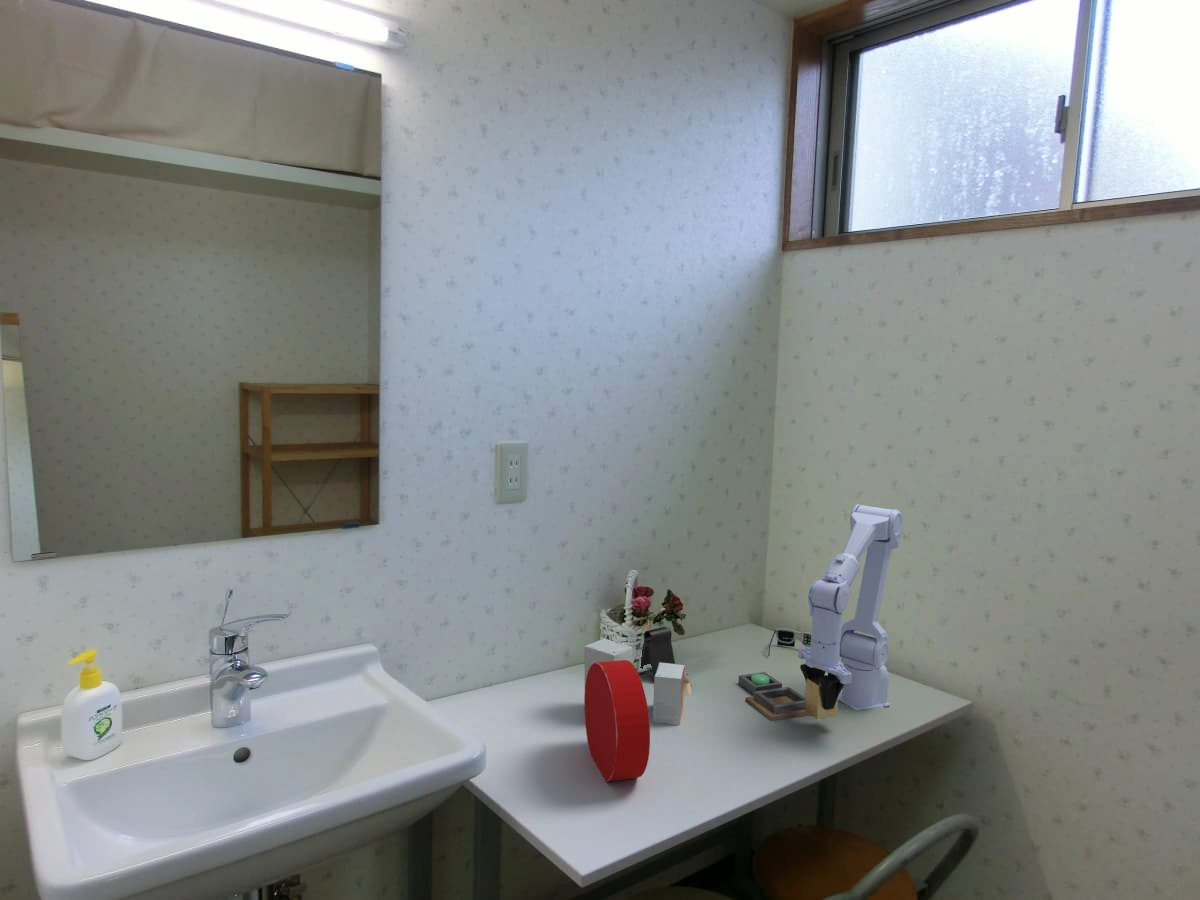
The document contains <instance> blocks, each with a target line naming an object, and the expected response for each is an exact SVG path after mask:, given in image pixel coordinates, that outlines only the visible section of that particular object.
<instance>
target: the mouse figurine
mask: <svg viewBox="0 0 1200 900" xmlns="http://www.w3.org/2000/svg"><path fill="white" fill-rule="evenodd" d="M684 665H685V664H684ZM687 669H688V667H687V665H685V672H684V693H683V697H689V696H691V694H693V691H692V689H694V688H693V685H692V683H691V678H690V677H689V674H688V673H687V672H686V671H687ZM688 695H689V696H688Z"/></svg>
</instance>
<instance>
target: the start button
mask: <svg viewBox="0 0 1200 900" xmlns="http://www.w3.org/2000/svg"><path fill="white" fill-rule="evenodd" d="M752 674H753V675H752V676H751V681H752V682H753V683H754V684H756V685H762V684H769V677H768V676H767V675H764V674H754V673H752Z"/></svg>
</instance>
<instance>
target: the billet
mask: <svg viewBox="0 0 1200 900" xmlns="http://www.w3.org/2000/svg"><path fill="white" fill-rule="evenodd" d="M805 683H806V684H805V711H806V712H807V713H809V714H810V715H809V716H812V717H813V718H814V719H816V720H820V719H826V718H831V717H832V718H833V717H838V709H839V699H838V698H837V701H836V703H835V706H834V709H830V710H825V709H824V707H823V691H822V686H821V682H820V679H819V676H818V677H811V678H807V681H806V680H805ZM838 696H839V695H838Z"/></svg>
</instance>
